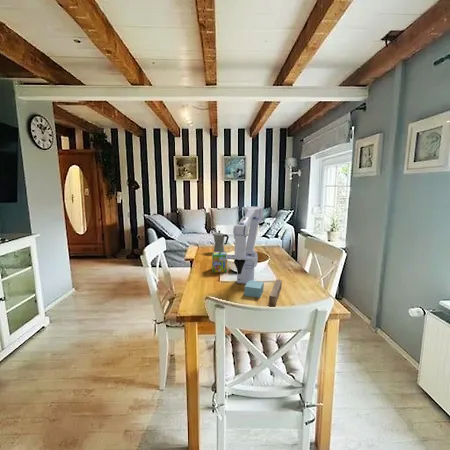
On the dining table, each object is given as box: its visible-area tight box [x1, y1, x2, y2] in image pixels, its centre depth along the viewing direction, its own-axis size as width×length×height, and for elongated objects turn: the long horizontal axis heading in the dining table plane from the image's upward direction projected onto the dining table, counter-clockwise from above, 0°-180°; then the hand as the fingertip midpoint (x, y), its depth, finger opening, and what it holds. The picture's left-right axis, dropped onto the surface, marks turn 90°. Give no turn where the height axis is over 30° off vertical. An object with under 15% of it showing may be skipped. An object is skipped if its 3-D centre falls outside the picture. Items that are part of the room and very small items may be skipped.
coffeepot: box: [212, 230, 229, 252], centre depth 225 cm, size 15×9×18 cm, turn 59°
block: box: [243, 280, 265, 299], centre depth 142 cm, size 8×10×5 cm
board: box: [268, 279, 283, 307], centre depth 139 cm, size 3×24×4 cm, turn 162°
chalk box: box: [211, 249, 228, 274], centre depth 177 cm, size 9×9×15 cm
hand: (239, 273), depth 143 cm, fingers closed
